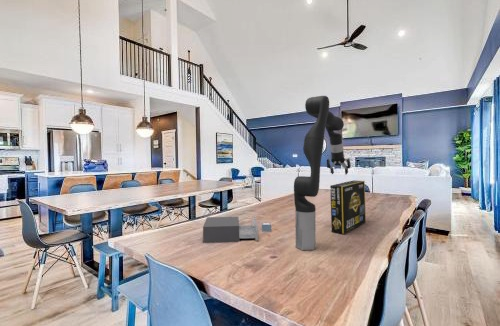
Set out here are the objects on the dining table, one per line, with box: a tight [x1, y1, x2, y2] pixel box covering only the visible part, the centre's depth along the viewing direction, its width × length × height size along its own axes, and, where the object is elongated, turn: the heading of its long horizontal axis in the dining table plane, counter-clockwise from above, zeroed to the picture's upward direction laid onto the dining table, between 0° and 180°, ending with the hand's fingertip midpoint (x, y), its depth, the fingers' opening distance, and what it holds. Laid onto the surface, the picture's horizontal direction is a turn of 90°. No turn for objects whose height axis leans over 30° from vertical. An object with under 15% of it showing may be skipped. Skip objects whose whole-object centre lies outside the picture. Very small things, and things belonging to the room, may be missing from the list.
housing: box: [202, 216, 240, 244], centre depth 138 cm, size 18×20×8 cm
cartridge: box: [261, 222, 272, 233], centre depth 148 cm, size 4×5×4 cm
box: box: [329, 180, 367, 235], centre depth 153 cm, size 34×8×27 cm, turn 137°
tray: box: [239, 215, 259, 241], centre depth 139 cm, size 18×20×8 cm
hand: (339, 173), depth 166 cm, fingers open, 8 cm apart
